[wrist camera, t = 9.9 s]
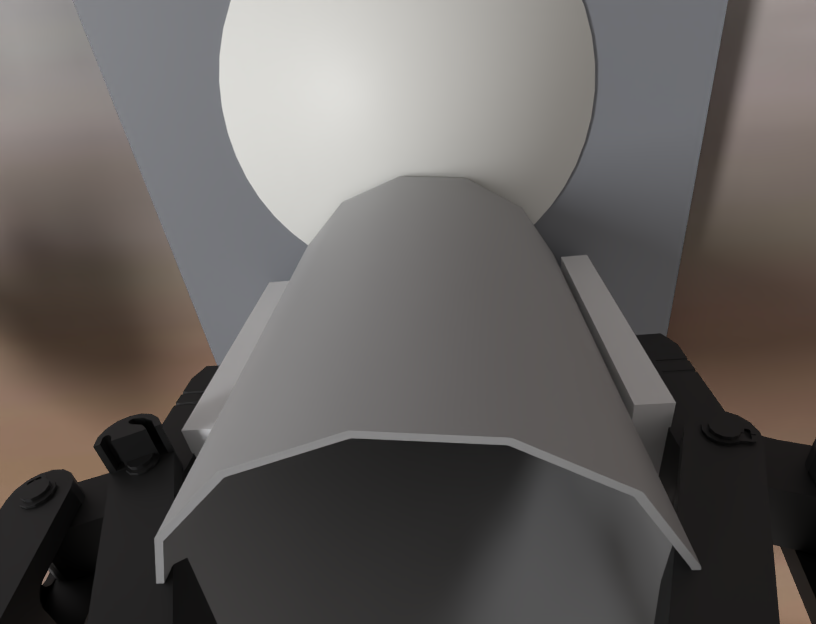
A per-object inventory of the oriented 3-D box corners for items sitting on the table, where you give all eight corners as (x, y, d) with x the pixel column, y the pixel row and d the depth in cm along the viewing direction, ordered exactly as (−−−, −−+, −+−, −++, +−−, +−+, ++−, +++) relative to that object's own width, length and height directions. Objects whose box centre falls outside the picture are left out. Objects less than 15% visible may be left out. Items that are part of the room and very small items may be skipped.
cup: (310, 391, 19) (207, 715, 10) (285, 172, 14) (70, 418, 6) (537, 401, 18) (625, 742, 10) (582, 181, 14) (804, 450, 6)
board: (74, -67, 13) (-88, -97, 9) (733, -174, 11) (898, -272, 7) (284, 496, 24) (255, 593, 20) (626, 482, 23) (667, 585, 19)
